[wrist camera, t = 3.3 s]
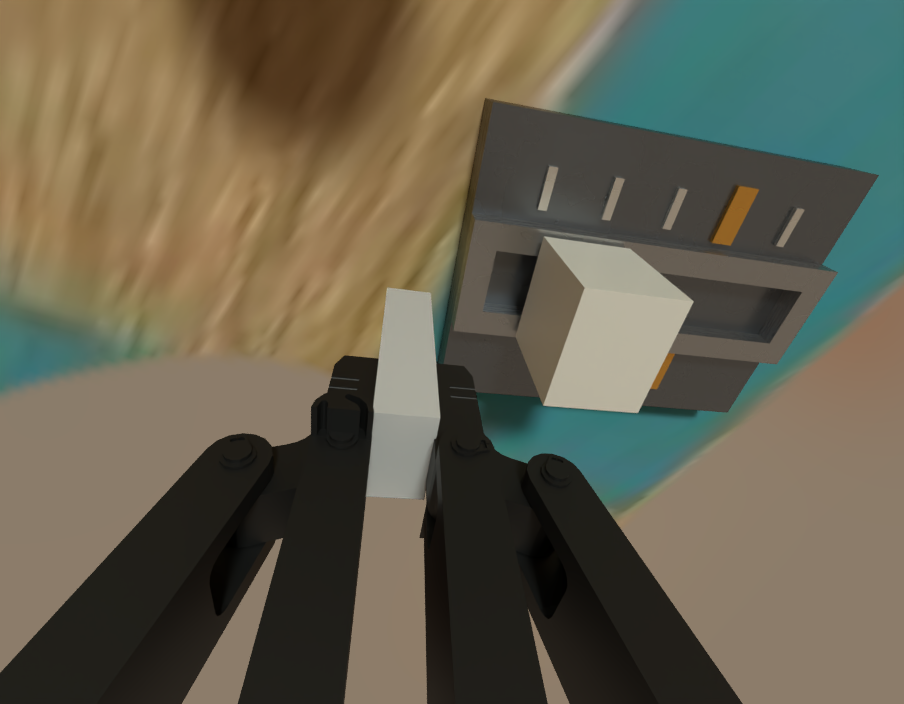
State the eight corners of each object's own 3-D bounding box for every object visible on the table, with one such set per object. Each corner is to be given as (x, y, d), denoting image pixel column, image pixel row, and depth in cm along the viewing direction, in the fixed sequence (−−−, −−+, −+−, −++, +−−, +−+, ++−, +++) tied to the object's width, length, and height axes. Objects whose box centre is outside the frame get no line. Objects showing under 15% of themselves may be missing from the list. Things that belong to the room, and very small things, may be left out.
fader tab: (510, 324, 23) (543, 405, 17) (536, 227, 20) (584, 287, 15) (584, 332, 23) (637, 413, 18) (618, 239, 21) (693, 301, 15)
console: (436, 368, 26) (439, 400, 24) (485, 98, 19) (497, 103, 16) (708, 392, 29) (737, 423, 27) (842, 166, 22) (899, 180, 19)
